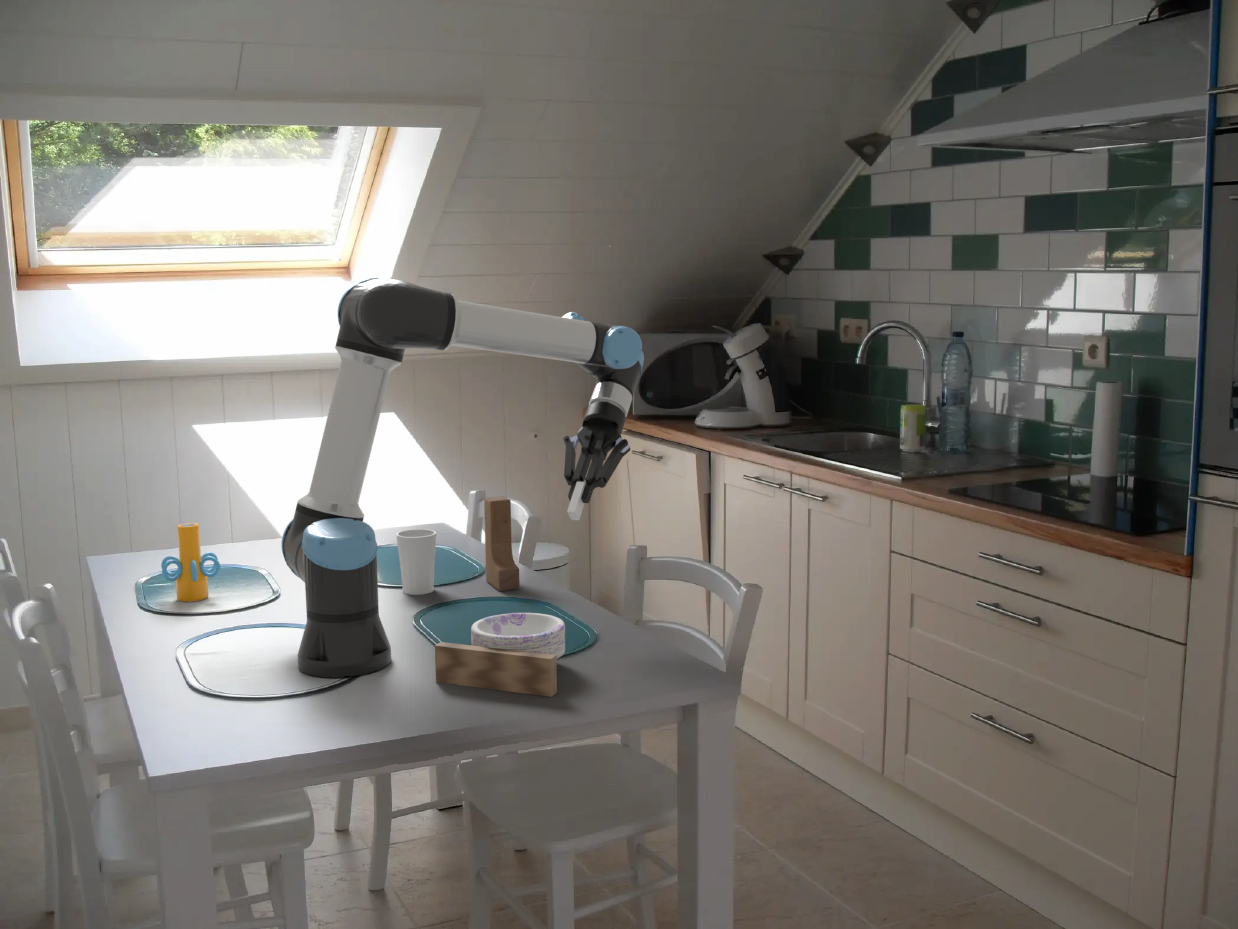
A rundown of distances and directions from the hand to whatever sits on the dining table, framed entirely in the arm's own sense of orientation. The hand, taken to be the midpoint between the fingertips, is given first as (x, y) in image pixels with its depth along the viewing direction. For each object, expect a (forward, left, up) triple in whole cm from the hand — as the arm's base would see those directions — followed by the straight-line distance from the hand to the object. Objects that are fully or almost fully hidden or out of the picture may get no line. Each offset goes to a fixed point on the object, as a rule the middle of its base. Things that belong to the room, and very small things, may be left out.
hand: (573, 515), depth 212 cm
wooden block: (-3, +36, -22) cm, 42 cm away
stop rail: (-21, -22, -21) cm, 37 cm away
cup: (-20, +39, -22) cm, 49 cm away
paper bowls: (-15, -16, -22) cm, 31 cm away
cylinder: (-63, +51, -22) cm, 84 cm away
